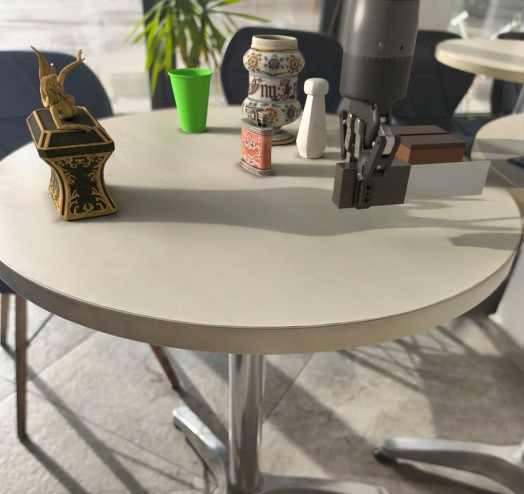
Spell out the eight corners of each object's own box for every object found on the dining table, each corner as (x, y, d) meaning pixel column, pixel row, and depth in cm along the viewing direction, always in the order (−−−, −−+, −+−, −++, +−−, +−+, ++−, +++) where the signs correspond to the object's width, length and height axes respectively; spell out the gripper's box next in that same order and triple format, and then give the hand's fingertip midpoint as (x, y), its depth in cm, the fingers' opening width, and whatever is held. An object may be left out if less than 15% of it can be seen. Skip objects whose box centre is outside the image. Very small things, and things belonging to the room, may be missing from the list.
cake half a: (442, 171, 89) (451, 134, 85) (456, 181, 85) (467, 142, 81) (390, 174, 87) (398, 136, 83) (403, 184, 83) (411, 144, 79)
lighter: (276, 173, 86) (278, 111, 80) (259, 176, 84) (260, 113, 78) (252, 160, 91) (253, 101, 85) (236, 163, 90) (236, 103, 84)
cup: (189, 137, 102) (185, 77, 95) (164, 128, 107) (159, 70, 100) (223, 130, 107) (221, 73, 100) (198, 121, 112) (195, 66, 105)
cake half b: (426, 160, 94) (434, 124, 90) (439, 169, 90) (448, 132, 86) (377, 163, 92) (383, 126, 88) (388, 172, 88) (395, 134, 84)
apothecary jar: (311, 140, 103) (320, 38, 92) (269, 150, 96) (272, 42, 85) (272, 127, 110) (275, 31, 98) (229, 136, 103) (228, 35, 92)
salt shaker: (290, 152, 96) (294, 76, 88) (315, 149, 98) (321, 75, 90) (305, 161, 92) (311, 83, 83) (331, 157, 94) (339, 81, 86)
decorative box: (128, 217, 70) (104, 57, 58) (57, 228, 67) (15, 60, 54) (100, 172, 84) (76, 36, 72) (40, 180, 81) (4, 38, 68)
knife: (475, 190, 69) (486, 153, 65) (485, 197, 67) (497, 160, 63) (331, 201, 65) (335, 162, 62) (338, 209, 63) (343, 169, 60)
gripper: (442, 58, 49) (407, 223, 60) (384, 40, 59) (363, 182, 70) (371, 59, 47) (348, 228, 58) (325, 40, 58) (313, 186, 69)
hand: (357, 202), depth 64 cm, fingers closed on knife, 2 cm apart
